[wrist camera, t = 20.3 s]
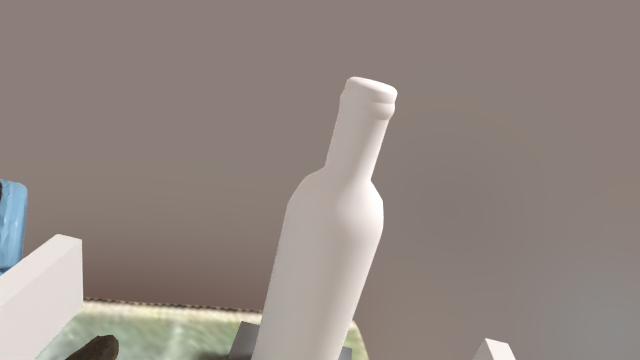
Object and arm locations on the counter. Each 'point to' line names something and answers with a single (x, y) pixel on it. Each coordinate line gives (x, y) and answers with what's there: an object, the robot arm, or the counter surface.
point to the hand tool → (98, 349)
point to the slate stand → (247, 341)
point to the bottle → (329, 236)
